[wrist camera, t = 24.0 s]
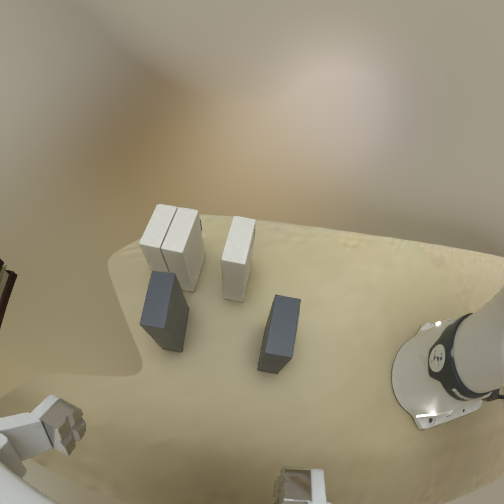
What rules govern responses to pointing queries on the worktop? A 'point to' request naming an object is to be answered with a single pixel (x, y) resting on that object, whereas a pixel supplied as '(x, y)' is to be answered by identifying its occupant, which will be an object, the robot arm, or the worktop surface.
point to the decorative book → (5, 287)
